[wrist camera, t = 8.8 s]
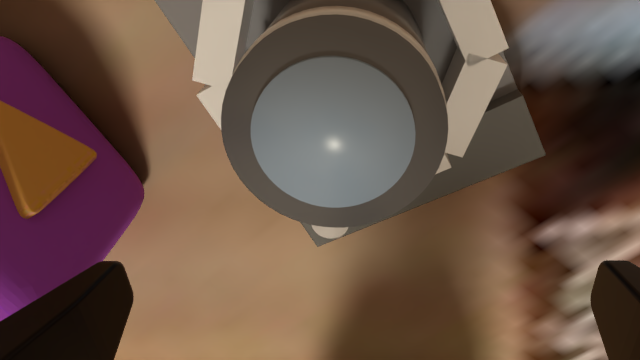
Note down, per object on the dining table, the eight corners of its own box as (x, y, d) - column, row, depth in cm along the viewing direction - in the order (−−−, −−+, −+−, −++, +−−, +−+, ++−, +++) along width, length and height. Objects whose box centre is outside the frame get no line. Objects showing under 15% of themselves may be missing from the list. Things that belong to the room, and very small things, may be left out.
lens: (433, -25, 14) (470, 23, 9) (414, 131, 17) (434, 239, 11) (261, -29, 14) (199, 14, 9) (268, 124, 17) (223, 225, 12)
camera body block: (517, 114, 19) (554, 167, 15) (324, 198, 22) (315, 261, 18) (386, -213, 14) (393, -254, 11) (162, -51, 17) (102, -36, 13)
